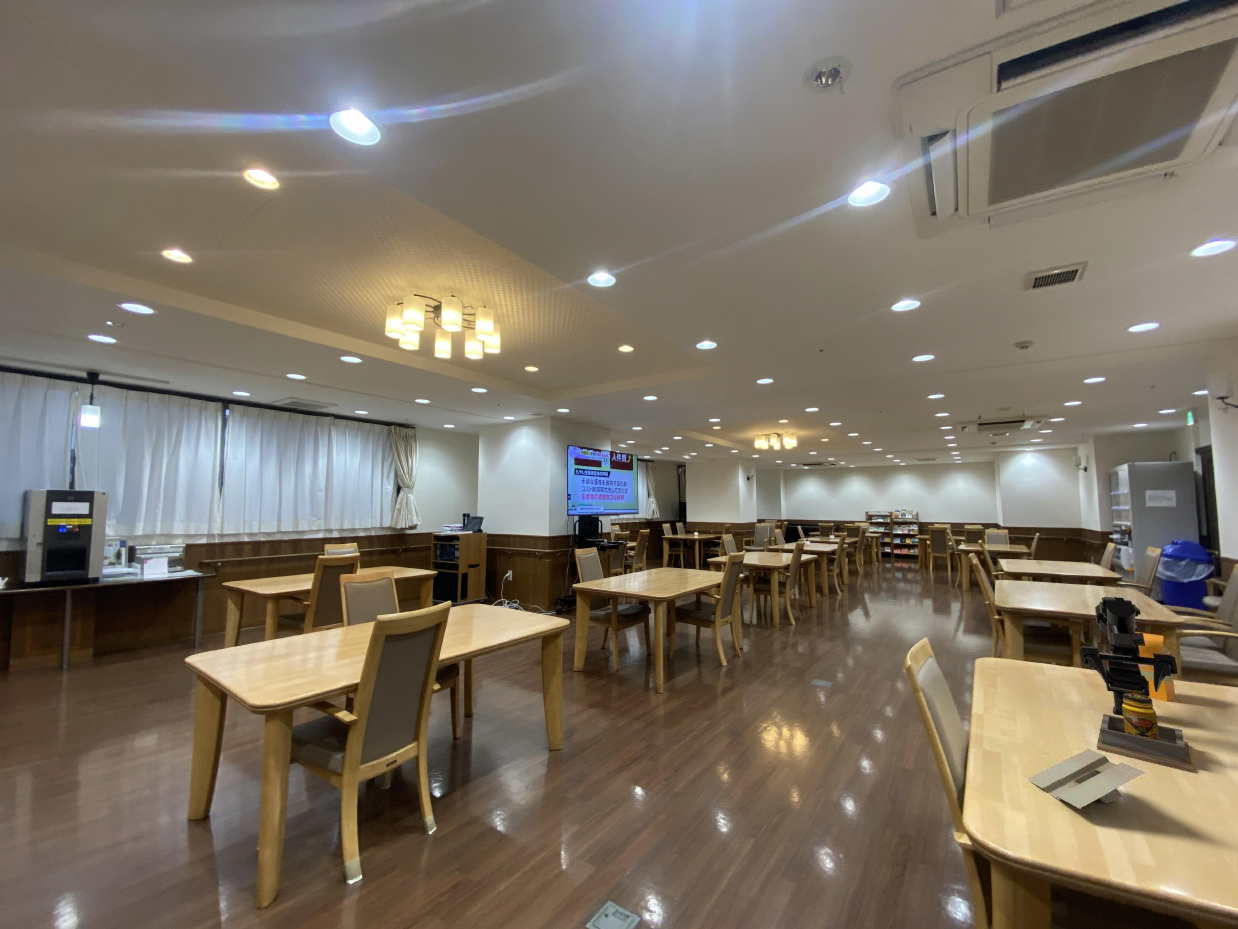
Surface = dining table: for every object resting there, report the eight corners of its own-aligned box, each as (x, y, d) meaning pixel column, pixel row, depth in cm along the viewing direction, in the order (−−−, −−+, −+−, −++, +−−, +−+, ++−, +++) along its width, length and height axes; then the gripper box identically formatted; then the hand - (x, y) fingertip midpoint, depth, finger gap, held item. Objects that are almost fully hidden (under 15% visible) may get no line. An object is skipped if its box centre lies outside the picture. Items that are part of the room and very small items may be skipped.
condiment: (1139, 750, 123) (1133, 700, 124) (1110, 735, 131) (1105, 688, 132) (1172, 751, 122) (1166, 701, 123) (1141, 736, 130) (1135, 689, 131)
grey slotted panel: (1121, 851, 93) (1176, 796, 94) (1078, 809, 95) (1132, 756, 96) (1060, 815, 108) (1108, 768, 109) (1025, 779, 111) (1072, 734, 112)
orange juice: (1167, 701, 157) (1159, 637, 159) (1129, 693, 165) (1122, 631, 167) (1176, 697, 160) (1168, 634, 163) (1138, 689, 168) (1131, 629, 170)
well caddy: (1101, 726, 138) (1100, 710, 139) (1188, 745, 127) (1186, 727, 127) (1097, 749, 125) (1095, 731, 125) (1193, 772, 113) (1190, 753, 114)
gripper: (1074, 618, 145) (1079, 666, 136) (1167, 623, 132) (1180, 677, 123) (1080, 639, 150) (1086, 687, 141) (1171, 647, 137) (1184, 700, 128)
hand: (1131, 688), depth 133 cm, fingers open, 9 cm apart
